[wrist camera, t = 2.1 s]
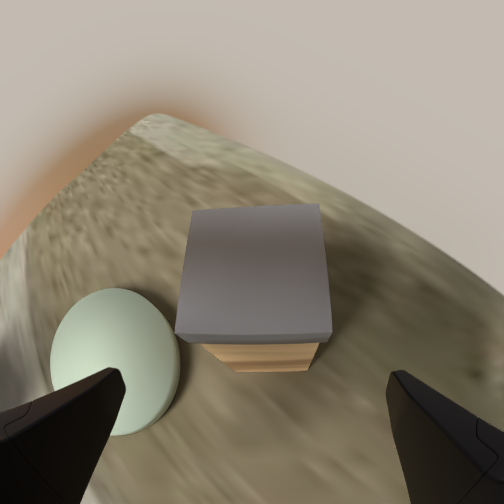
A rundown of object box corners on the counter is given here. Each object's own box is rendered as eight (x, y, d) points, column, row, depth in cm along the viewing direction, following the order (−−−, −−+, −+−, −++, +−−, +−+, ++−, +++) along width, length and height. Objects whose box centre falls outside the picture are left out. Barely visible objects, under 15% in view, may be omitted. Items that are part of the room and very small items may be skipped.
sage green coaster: (114, 463, 16) (103, 464, 15) (44, 357, 21) (33, 353, 20) (213, 361, 20) (207, 357, 18) (121, 270, 25) (113, 262, 23)
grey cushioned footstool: (310, 373, 19) (332, 331, 9) (231, 374, 19) (174, 332, 10) (307, 301, 21) (319, 203, 12) (235, 303, 22) (192, 210, 13)
